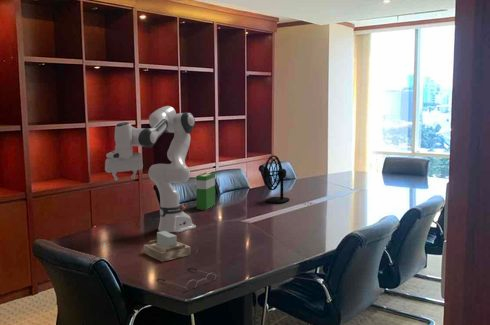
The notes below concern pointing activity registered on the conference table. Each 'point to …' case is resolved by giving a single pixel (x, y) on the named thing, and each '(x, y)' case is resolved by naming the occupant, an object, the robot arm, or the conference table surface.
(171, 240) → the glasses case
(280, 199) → the desk fan
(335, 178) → the conference table surface
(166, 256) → the display stand
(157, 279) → the eyeglasses
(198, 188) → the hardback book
